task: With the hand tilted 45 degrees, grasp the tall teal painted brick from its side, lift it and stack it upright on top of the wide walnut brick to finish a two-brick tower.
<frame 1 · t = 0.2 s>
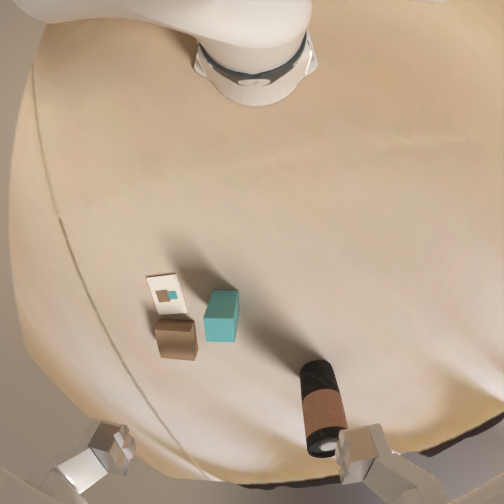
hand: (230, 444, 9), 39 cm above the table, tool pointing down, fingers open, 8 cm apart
walnut brick: (179, 333, 55), on the table
instruction page: (167, 295, 51), on the table
teal brick: (226, 301, 51), on the table
travel mug: (316, 371, 57), on the table
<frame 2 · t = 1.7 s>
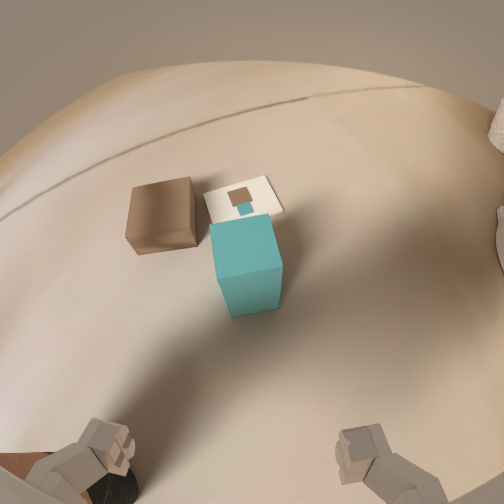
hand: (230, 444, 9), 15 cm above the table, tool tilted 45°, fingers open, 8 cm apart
walnut brick: (168, 226, 33), on the table
white cup: (498, 144, 40), on the table
instruction page: (241, 203, 34), on the table
teal brick: (251, 291, 28), on the table
travel mug: (108, 479, 19), on the table
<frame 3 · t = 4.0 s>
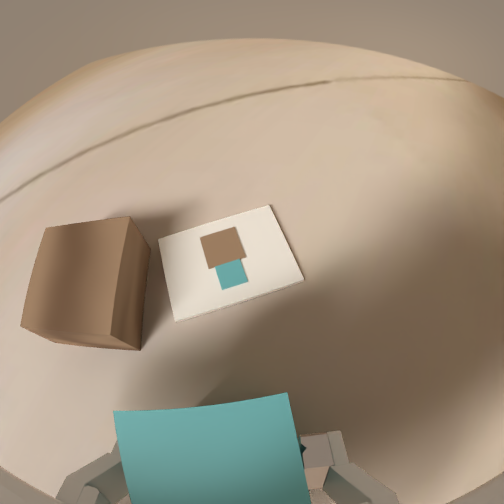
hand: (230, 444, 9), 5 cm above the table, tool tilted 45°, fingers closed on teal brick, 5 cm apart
walnut brick: (101, 298, 17), on the table
instruction page: (226, 260, 18), on the table
teal brick: (241, 442, 13), on the table, touching gripper
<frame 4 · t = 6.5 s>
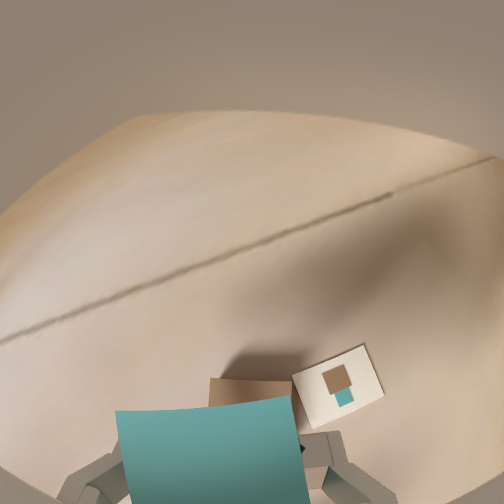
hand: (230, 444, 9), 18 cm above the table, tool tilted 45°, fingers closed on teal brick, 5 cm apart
walnut brick: (251, 416, 25), on the table
instruction page: (339, 386, 25), on the table
teal brick: (241, 442, 13), point 13 cm above the table, touching gripper
when the fingers open (10 cm above the table, at t = 8.7 s): teal brick drops 2 cm, resting on walnut brick.
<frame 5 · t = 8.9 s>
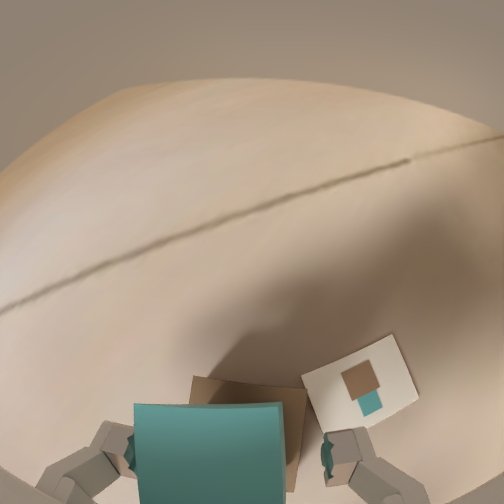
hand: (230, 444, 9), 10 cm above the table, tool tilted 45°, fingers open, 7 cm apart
walnut brick: (246, 431, 18), on the table, touching teal brick
instruction page: (362, 389, 18), on the table
teal brick: (245, 438, 14), point 4 cm above the table, touching walnut brick
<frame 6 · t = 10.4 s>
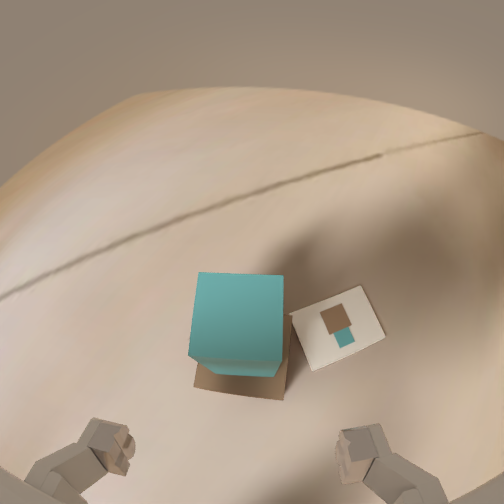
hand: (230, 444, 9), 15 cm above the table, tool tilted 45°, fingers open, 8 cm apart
walnut brick: (246, 359, 25), on the table, touching teal brick
instruction page: (338, 327, 26), on the table
teal brick: (246, 348, 22), point 4 cm above the table, touching walnut brick
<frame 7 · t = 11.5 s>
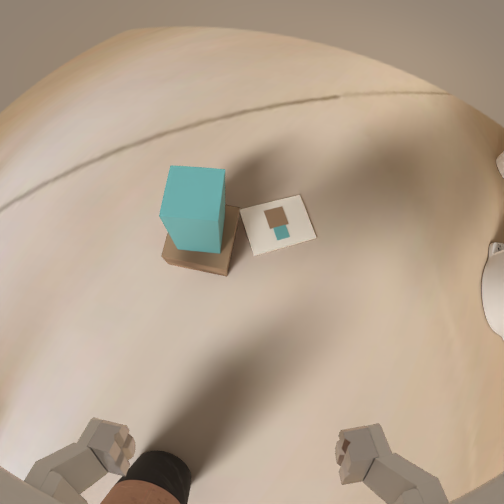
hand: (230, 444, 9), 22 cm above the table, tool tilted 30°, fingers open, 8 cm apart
walnut brick: (203, 242, 34), on the table, touching teal brick
white cup: (503, 170, 44), on the table
instruction page: (277, 224, 35), on the table
teal brick: (201, 231, 30), point 4 cm above the table, touching walnut brick
travel mug: (163, 472, 26), on the table
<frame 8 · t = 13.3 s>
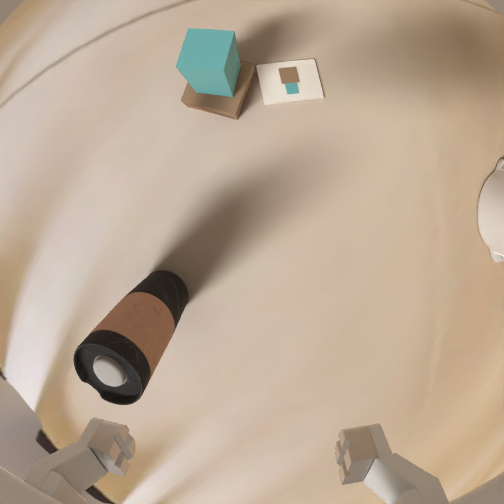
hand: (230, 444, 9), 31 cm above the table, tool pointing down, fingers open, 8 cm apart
walnut brick: (221, 90, 34), on the table
instruction page: (289, 81, 33), on the table
teal brick: (218, 78, 30), point 4 cm above the table
travel mug: (165, 292, 41), on the table
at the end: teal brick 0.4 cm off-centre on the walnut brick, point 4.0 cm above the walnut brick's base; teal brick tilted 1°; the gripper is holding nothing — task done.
